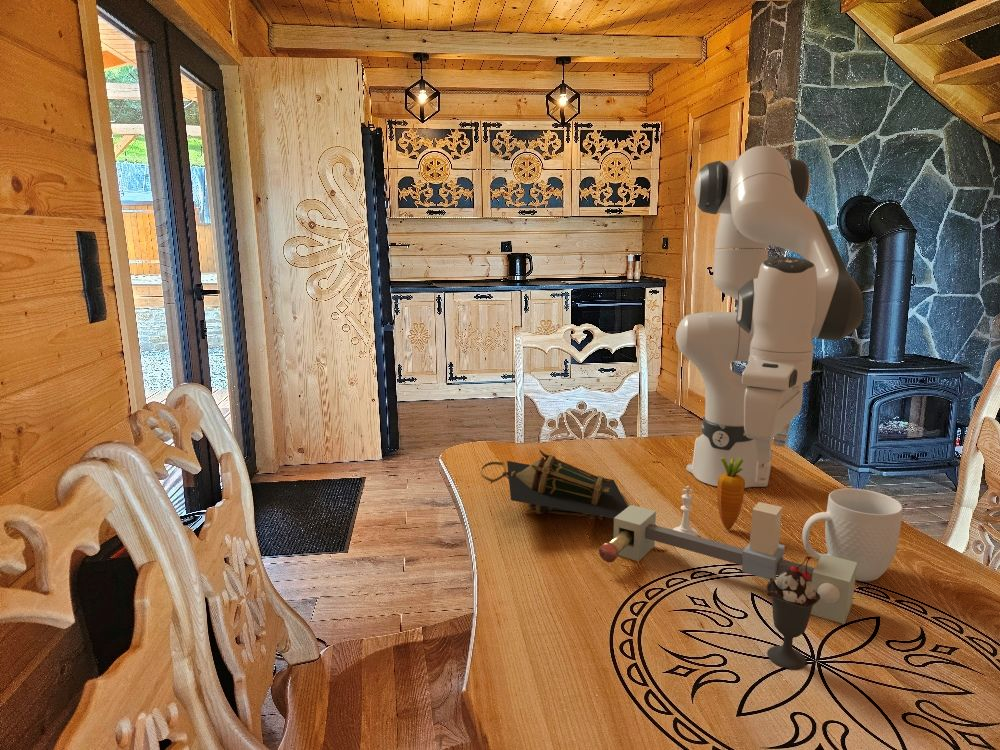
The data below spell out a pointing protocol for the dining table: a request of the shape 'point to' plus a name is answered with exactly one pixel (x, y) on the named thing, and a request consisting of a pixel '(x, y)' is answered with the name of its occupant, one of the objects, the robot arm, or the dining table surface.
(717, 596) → the dining table surface
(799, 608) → the sundae
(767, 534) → the carriage
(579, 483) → the lantern
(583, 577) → the dining table surface
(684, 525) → the chess piece
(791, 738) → the dining table surface
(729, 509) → the carrot
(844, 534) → the mug
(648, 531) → the guide rail
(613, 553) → the cylinder
